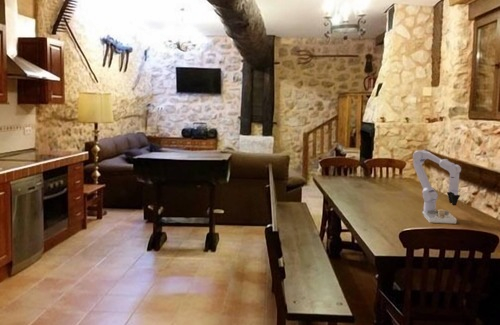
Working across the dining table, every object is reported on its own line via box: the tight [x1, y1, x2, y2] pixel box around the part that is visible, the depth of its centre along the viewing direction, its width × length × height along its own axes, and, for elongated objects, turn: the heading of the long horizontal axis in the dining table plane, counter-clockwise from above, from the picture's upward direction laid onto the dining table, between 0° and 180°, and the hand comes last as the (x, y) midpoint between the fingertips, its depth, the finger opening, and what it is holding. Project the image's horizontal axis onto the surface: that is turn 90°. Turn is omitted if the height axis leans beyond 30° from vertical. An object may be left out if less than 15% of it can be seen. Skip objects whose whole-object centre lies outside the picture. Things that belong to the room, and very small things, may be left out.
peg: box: [437, 208, 446, 217], centre depth 310 cm, size 3×3×7 cm
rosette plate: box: [423, 209, 458, 225], centre depth 312 cm, size 18×16×5 cm
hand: (452, 204), depth 316 cm, fingers open, 7 cm apart
